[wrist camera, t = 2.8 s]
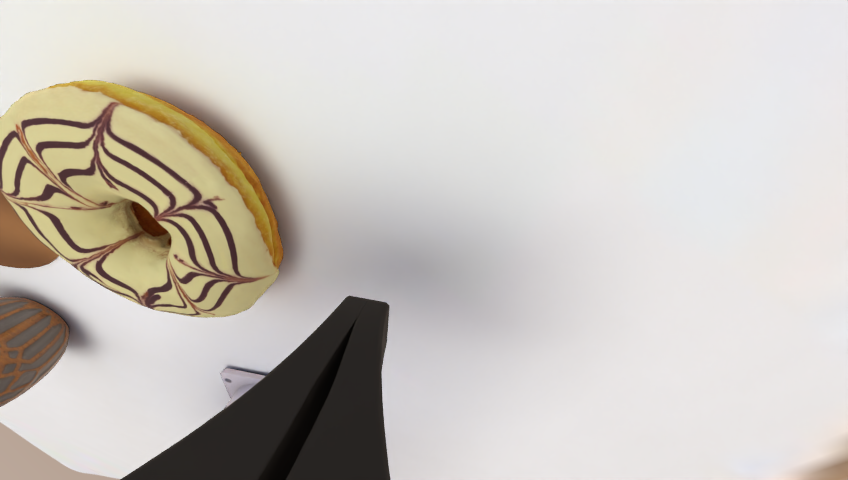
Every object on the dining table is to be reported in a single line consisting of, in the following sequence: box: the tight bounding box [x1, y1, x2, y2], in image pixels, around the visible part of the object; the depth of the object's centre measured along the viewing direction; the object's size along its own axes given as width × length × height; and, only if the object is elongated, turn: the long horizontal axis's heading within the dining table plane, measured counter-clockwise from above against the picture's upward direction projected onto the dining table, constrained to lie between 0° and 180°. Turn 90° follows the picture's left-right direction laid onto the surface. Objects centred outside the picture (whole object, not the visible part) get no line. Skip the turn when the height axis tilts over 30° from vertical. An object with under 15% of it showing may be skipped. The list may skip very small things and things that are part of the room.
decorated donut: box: [0, 80, 283, 317], centre depth 13 cm, size 10×11×4 cm
